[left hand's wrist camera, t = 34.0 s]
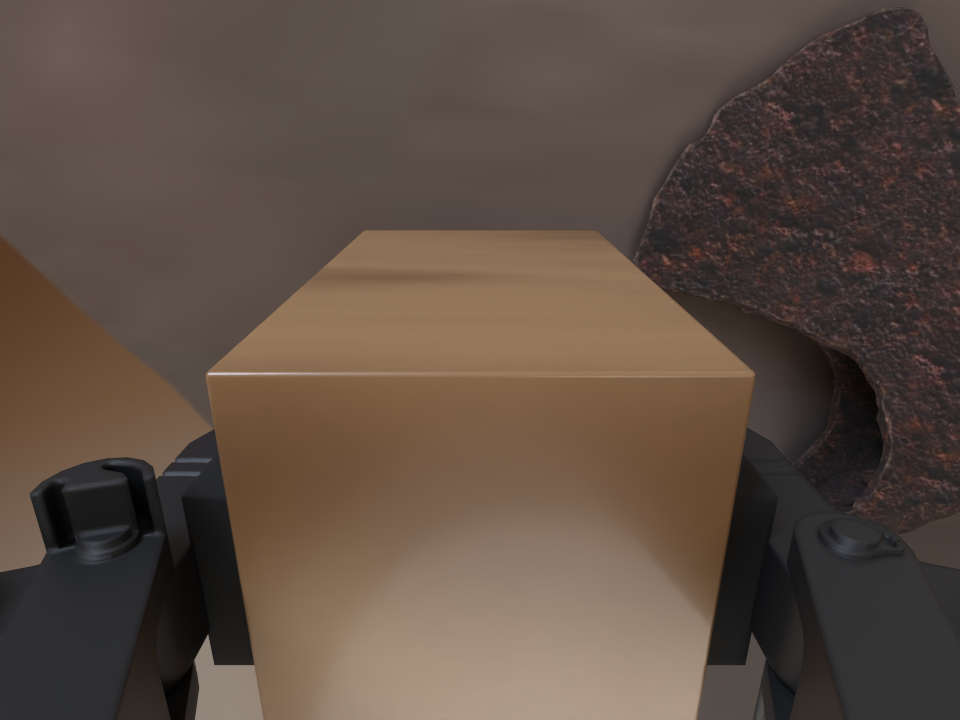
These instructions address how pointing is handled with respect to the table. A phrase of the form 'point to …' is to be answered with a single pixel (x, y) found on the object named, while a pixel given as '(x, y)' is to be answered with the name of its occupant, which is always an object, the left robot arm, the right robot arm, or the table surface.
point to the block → (480, 483)
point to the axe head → (841, 251)
